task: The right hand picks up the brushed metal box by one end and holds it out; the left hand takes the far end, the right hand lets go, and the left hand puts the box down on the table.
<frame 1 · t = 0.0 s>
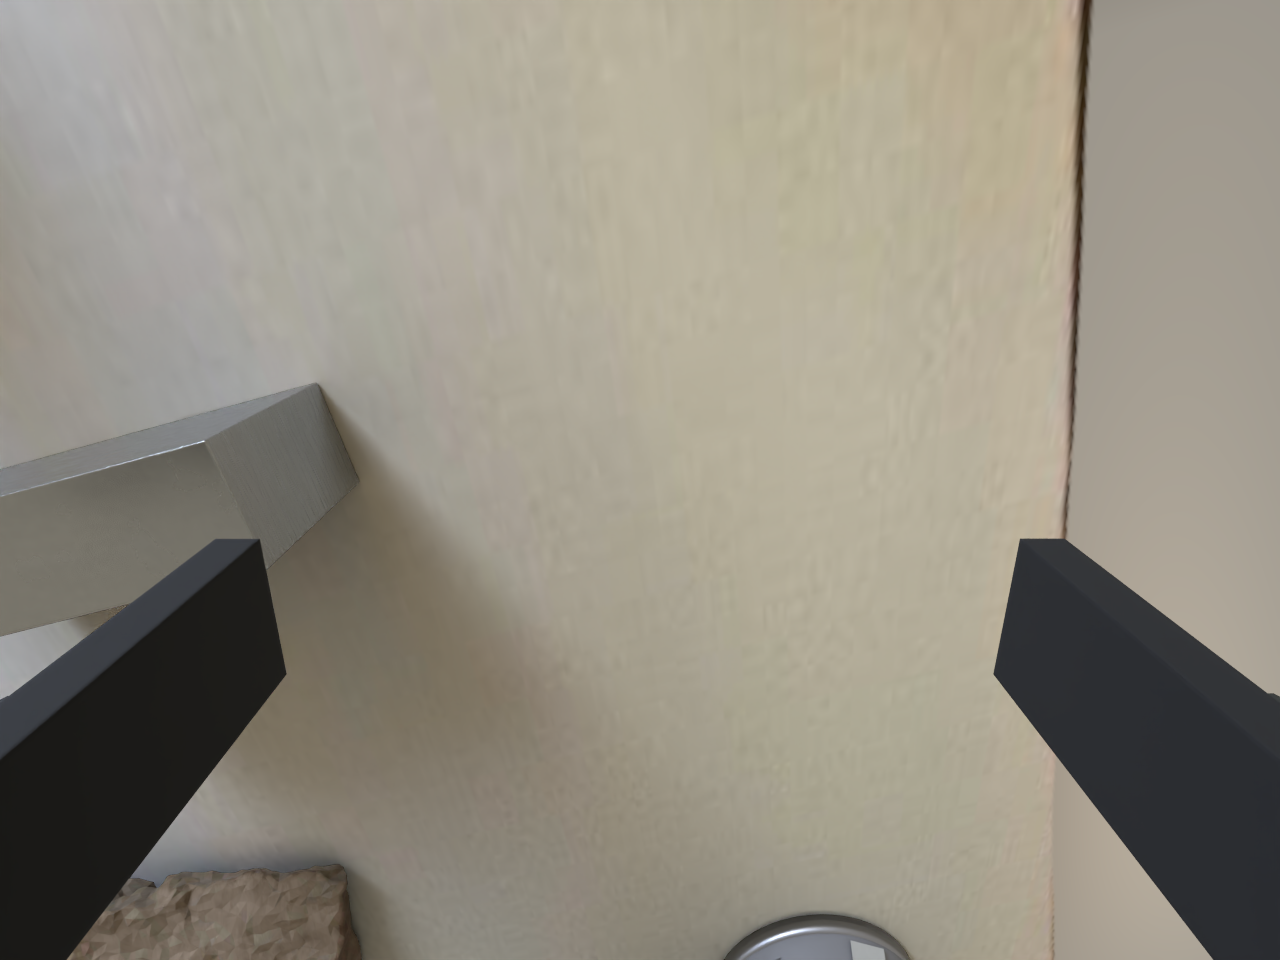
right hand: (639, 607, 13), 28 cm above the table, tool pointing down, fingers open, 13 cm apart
box: (161, 480, 42), on the table
stone: (224, 917, 54), on the table
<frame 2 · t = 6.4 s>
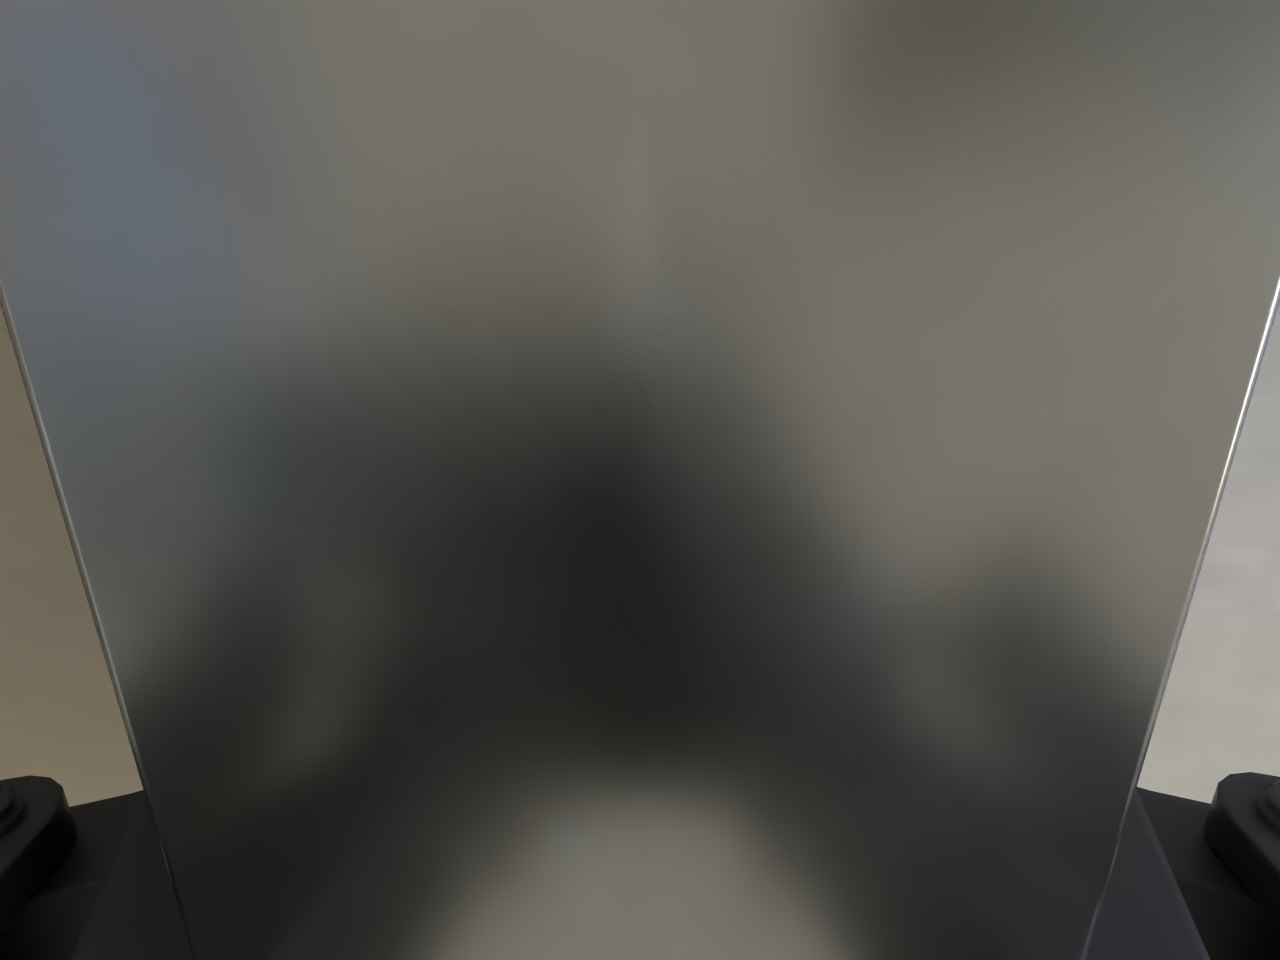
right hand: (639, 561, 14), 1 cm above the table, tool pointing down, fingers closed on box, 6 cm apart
box: (639, 189, 13), on the table, touching right hand
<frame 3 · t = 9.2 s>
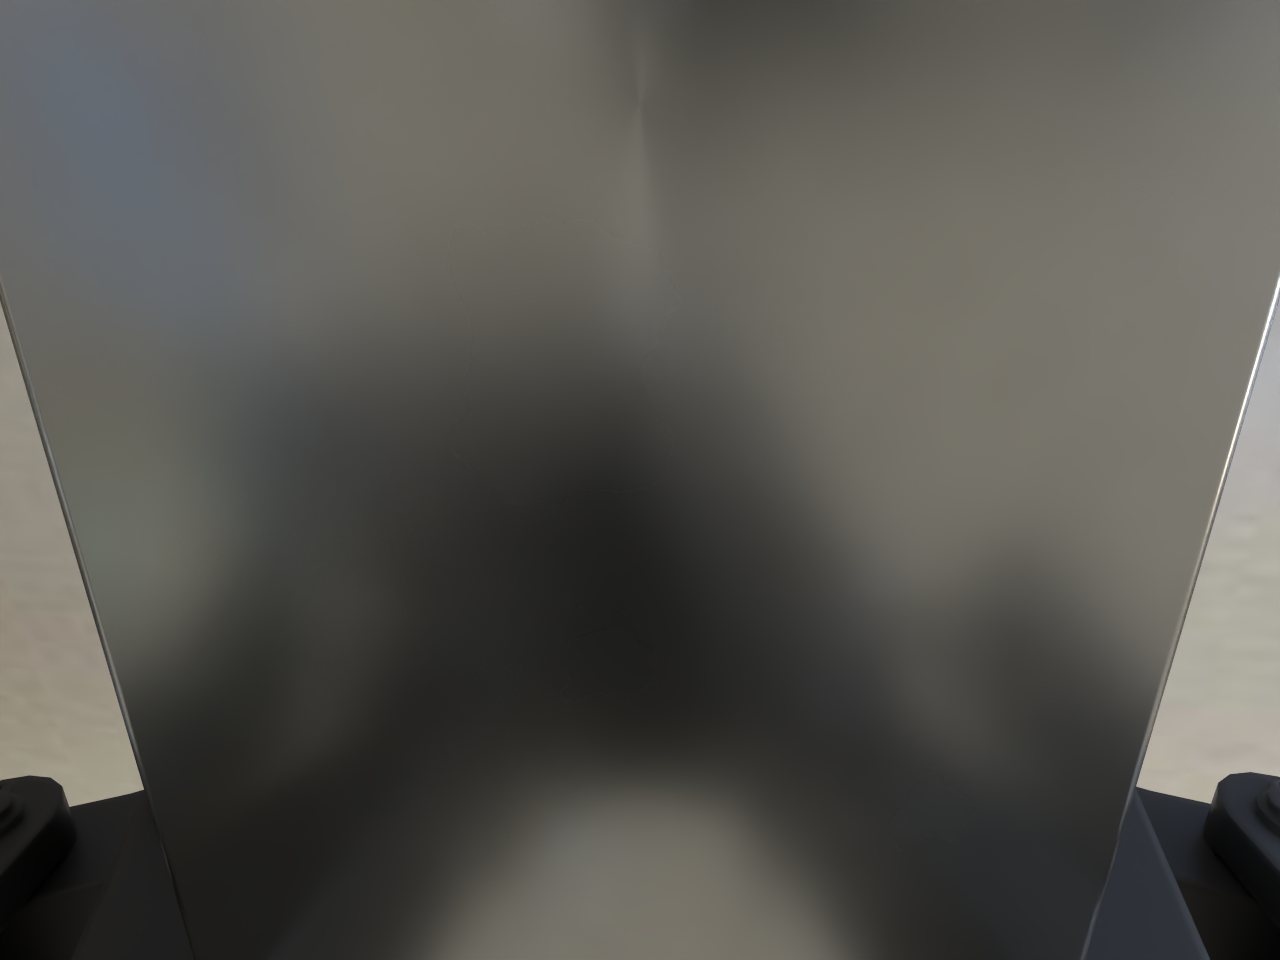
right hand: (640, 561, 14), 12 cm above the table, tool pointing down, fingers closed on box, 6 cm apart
box: (639, 189, 13), point 11 cm above the table, touching right hand
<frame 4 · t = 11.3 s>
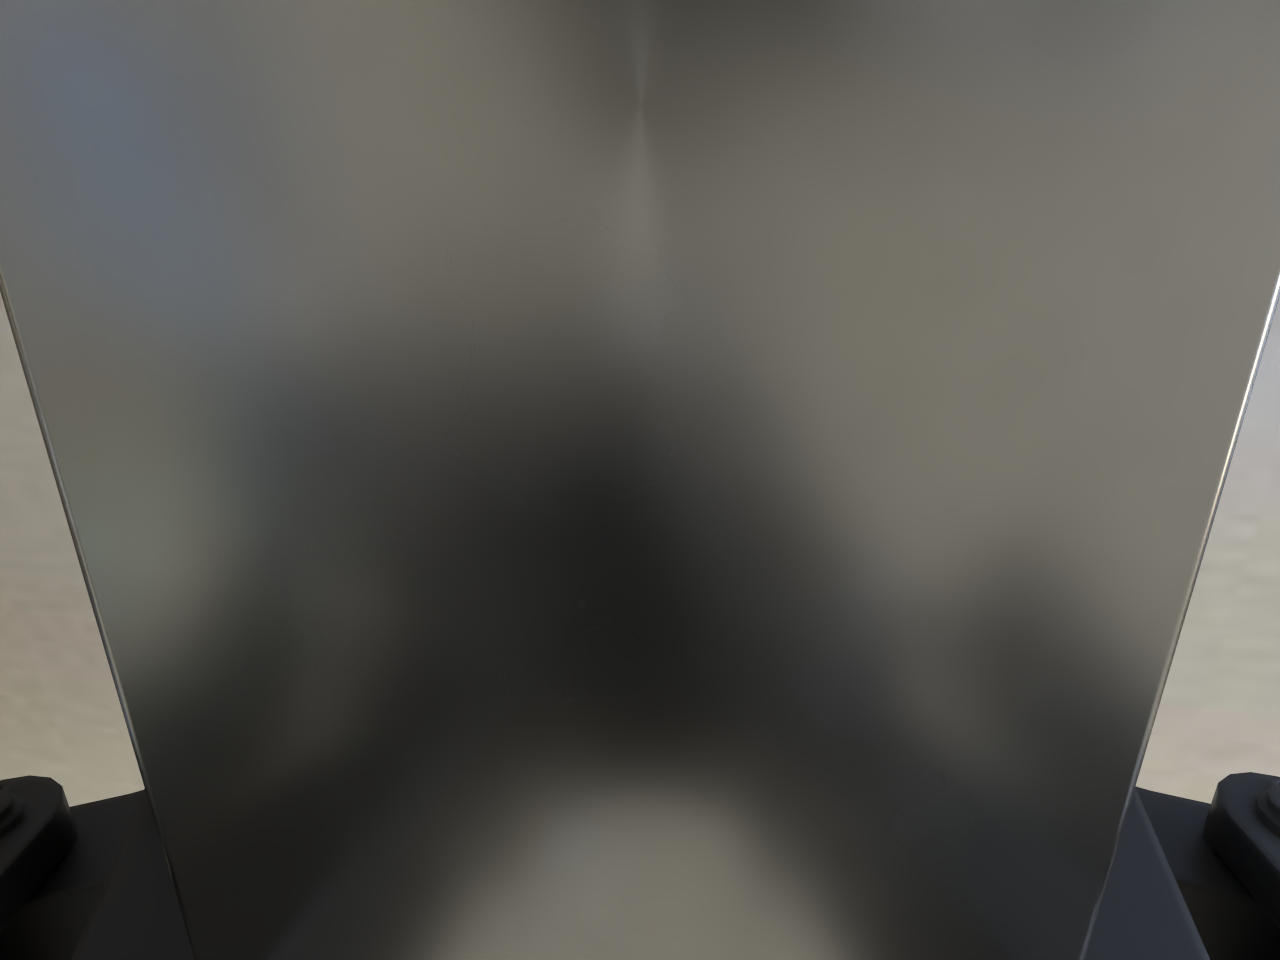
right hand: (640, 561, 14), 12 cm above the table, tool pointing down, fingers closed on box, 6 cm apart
box: (640, 189, 13), point 11 cm above the table, touching right hand, left hand
when the right hand's fingers open (12 cm above the table, at t = 12.3 s): box stays where it is, held by the left hand.
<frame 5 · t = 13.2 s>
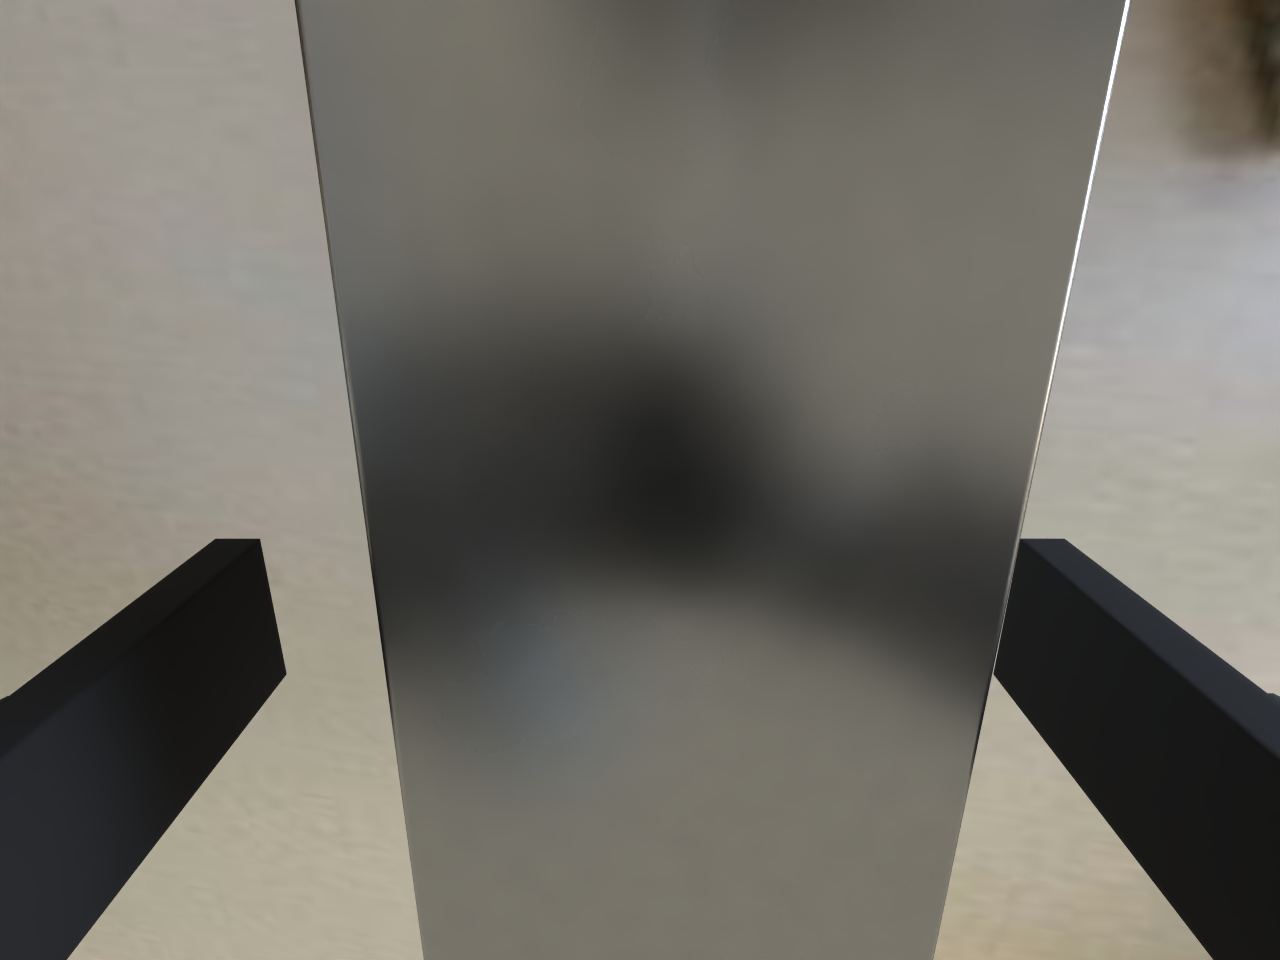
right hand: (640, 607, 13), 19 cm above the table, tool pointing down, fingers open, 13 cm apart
box: (677, 100, 15), point 13 cm above the table, touching left hand
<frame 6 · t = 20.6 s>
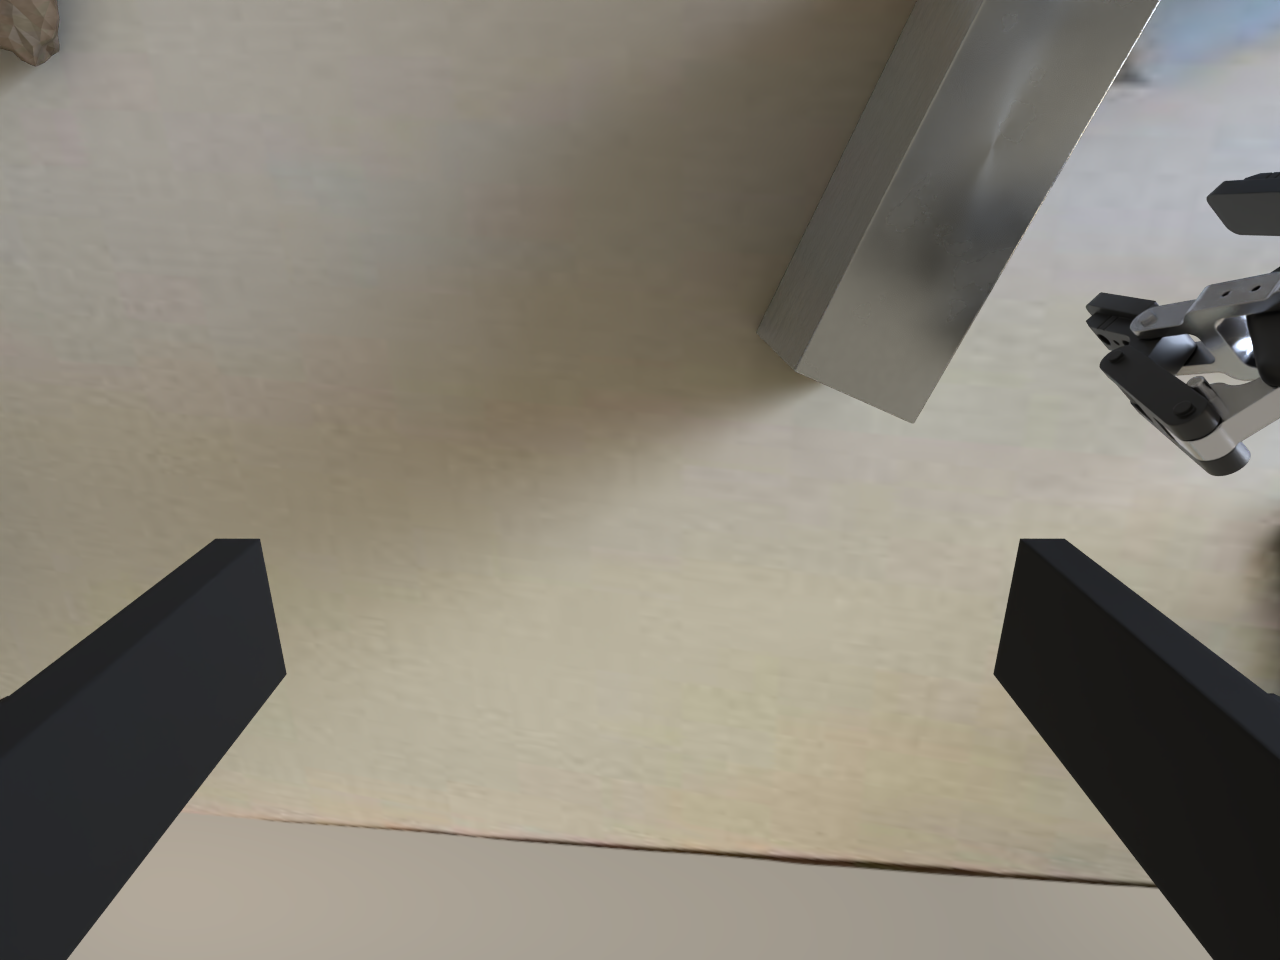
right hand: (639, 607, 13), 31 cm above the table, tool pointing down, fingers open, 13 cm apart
box: (898, 164, 39), on the table
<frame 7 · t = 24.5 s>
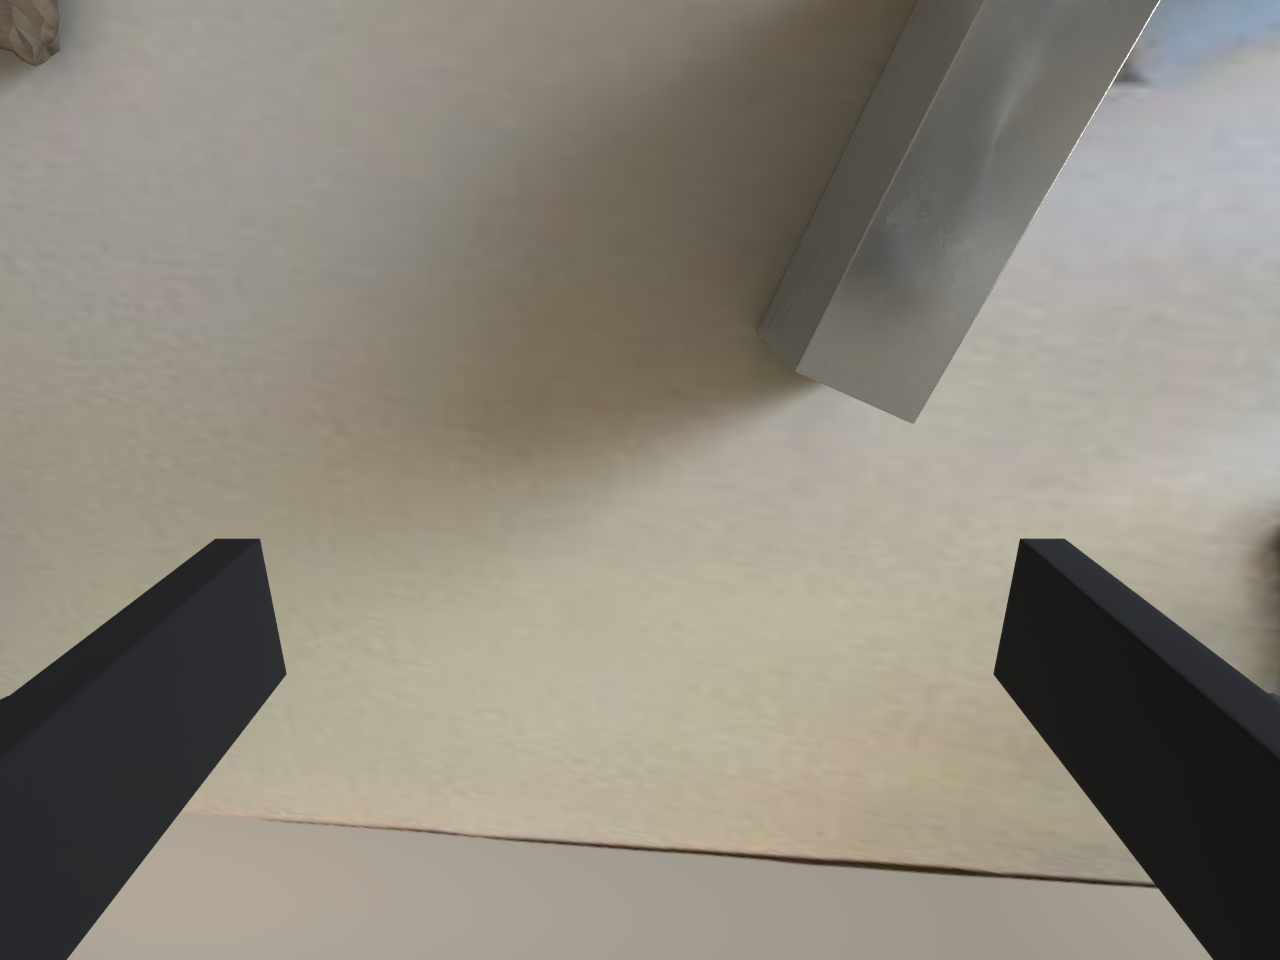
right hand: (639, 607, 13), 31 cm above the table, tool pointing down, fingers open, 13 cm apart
box: (898, 164, 39), on the table
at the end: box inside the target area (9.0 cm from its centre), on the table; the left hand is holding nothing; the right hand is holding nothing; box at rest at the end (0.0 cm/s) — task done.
